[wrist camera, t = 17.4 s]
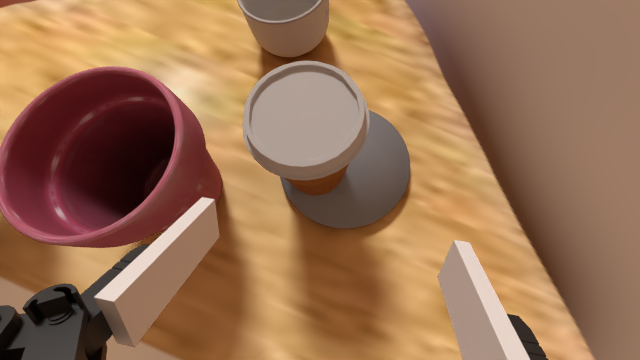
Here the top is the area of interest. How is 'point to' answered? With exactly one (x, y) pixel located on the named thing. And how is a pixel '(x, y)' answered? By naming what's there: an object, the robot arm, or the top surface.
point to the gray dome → (362, 182)
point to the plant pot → (104, 161)
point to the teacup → (287, 24)
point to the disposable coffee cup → (306, 124)
